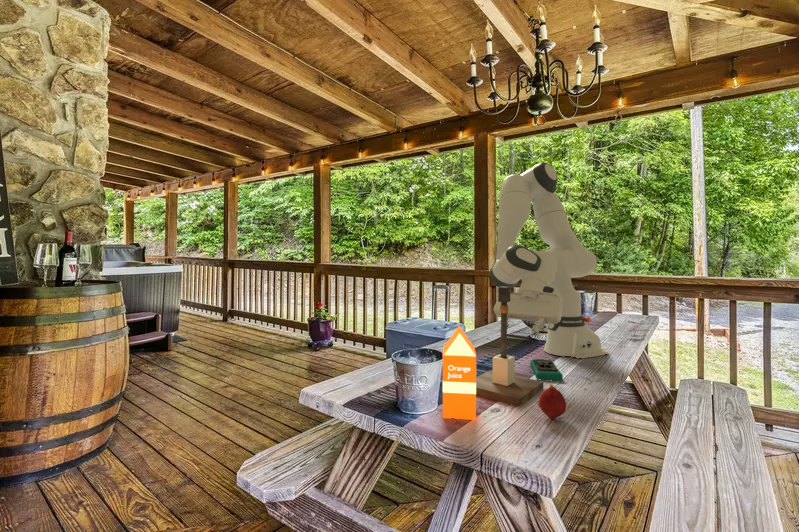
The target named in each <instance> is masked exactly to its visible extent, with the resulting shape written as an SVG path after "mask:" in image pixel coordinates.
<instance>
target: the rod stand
mask: <svg viewBox="0 0 799 532" xmlns="http://www.w3.org/2000/svg"><path fill="white" fill-rule="evenodd" d="M510 293H511V289H510V287H503V286H502V287H497V301H498V302H501V305H500V313H501V317H500V354H501V358H504V359H507V355H508V351H507V350H508V349H507V348H508V329H507V322H508V320H507V313H508V305H507V302H510ZM492 378H493V369H490V370H488V371H486V372H484V373H482V374H480V375H478V376H476V396H480V397H483V398H486V399H489V400H493V401H498V402H500V403H504V404H507V405H511V406H514V407H517V408H518V407H519V408H520V407H521V406H522V405H523V404H525V403H526V402H527V401H529V400H530V399H532V398H533V397H534V396H535V395H537V394H538V393H540V392H541V391H543V389H544V381H543V380H537V379H534V378H529V377H525V376H524V377H523V376H520V375H516V374H515V382H513V383H512V384H510V385H508V386H505V385H501V384H497V383H493V382H492ZM539 391H540V392H539Z"/></svg>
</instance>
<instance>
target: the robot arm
mask: <svg viewBox="0 0 799 532" xmlns="http://www.w3.org/2000/svg"><path fill="white" fill-rule="evenodd" d="M558 179H559V177H558V172H557V171H556V169H555V167H554V166H552V165H551V164H550V163H548V162H546V161H544V162H543V161H542V162H539V163H537V164H534V166H533V167H531V168H529V169H527V170H525V171H524V172H522V173H521V174H517V173H515V174H510V175H508V176H506V177H505V178H504V179H503V180H502V182H501V185H500V188H499V189H500V190H499V195H498V197H499V198H498V221H497V222H498V223H497V235H496V244H495V256H494V257H495V258H494V263H493V265H492V266H491V268H490V270H489V278H490V280H491V282H492V283H493V284H494V285H495V286H496V287H497V288H498V287H502V286H503V287H510V290H511V289H513V288H515V287H516V285H518V283H519V281H520V280H521V283H520V286H519V288H518V290H517V292H510V302H507V305H508V313H507V330H509V327H510V323H509V322H508V321H509V319H511V320H512V319H513V320H520V321H529V322H535V323H536V322H537V324H533V325H532V328H531V331H532V333H533V334H539V333H540V330H541V329H543V327H545V326H546V324H547V335H546V342H545V345H544V348H543V351H544V352H546V353H547V354H551V355H555V356H557V357H558V356H560V357H565V356H571V357H570V358H573V357H576V358H575V359H579V358H582V359H587V358H588V357H589V358H594V357H601V356H606V355H605V354H607V355H608V354H609V351H608V350H607V349H605V348H604V347H602V342H601V338H600V336H599V335H598V334H596V333H595V332H594V331H593V330H592V329H590V328H589V327H588V326H587V325H586V323H588V324H589V323H590V322H591V321H592V319H591V317H589V316H583V315H582V295H581V293H580V292H579V291H578V290H576V289H575V288H574V285H573V282H572V279H573V278H583V277H586V276H590V275H591V274H593V273H594V272H595V271H596V269H597V266H598V261H597V257H596V255H595V254H594V253H593V252H592V251H590V250H589V249H588V248H586V247H585V246H584V244H582V243H581V241H580V240H579V239H578V238H577V236H576V234H575V233H574V231H573V229H572V227H571V225H570V221H569V220H568V215H567V214H566V211H565V207H564V205H563V204H562V201H561V200H560V199H561V198H560V197H559V196H558V194H557V192H556V190H557V185H558ZM531 207H532V208H533V209H532V210H533V215H534V219H535V223H536V226H537V229H538V232H539V235H540V239H541V241H542V242H543V243H545V244H547V245H549V246H550V248H549V249H545V250H532V249H530V248H528V247H526V246H524V245H520V244H515V243H516V240H517V238H518V235H519V234H520V232H521V230H522V228H523V227H524V225H525V224H526V222H527V221H528V219H529V217H530V213H531ZM500 305H501V302H498V300H497V301H496V302H495V304H494V307H493V312H494V314H495V316H496V317H497V318H501V313H500ZM589 358H588V359H589Z"/></svg>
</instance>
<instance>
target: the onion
mask: <svg viewBox="0 0 799 532" xmlns="http://www.w3.org/2000/svg"><path fill="white" fill-rule="evenodd" d="M538 405H539V406H538V407H539V408H540V410H541V411H542V413H543V414H544V415H545V416H546V417H548V419H550V420H555V419H557V418H560V417H562V415H564V414H565V412H566V411H567V400H566V398H565V397H564V395H563V394H562V392H561V391H560V390H559V389H558V388H556V387H555V386H554V384H553V383H549V387H548V388H546V389H545V390H542V392H541V393H540V395H539V397H538Z"/></svg>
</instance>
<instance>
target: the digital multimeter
mask: <svg viewBox="0 0 799 532" xmlns="http://www.w3.org/2000/svg"><path fill="white" fill-rule="evenodd" d="M529 362H530V364H529V365H530V368H531V369H532V372H533V374H534V375H535V378H537V379H541V380H540V381H543V380H552V381H551V382H563V381H564V379H563V377H564V376H563V373H561V371H560V370H559V369H558V367H557V365H556V364H555V362H554V361H553V360H549V359H542V358H541V359H539V358H538V359H537V358H536V359H531V360H530V361H529ZM537 379H536V380H537Z"/></svg>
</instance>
